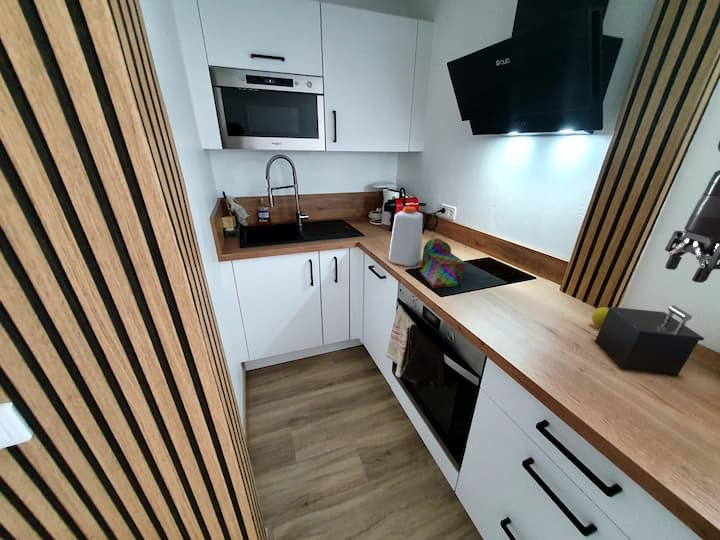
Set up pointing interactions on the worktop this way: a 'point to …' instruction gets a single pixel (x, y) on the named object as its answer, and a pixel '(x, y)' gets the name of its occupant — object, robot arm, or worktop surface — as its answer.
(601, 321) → the lemon
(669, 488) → the worktop surface
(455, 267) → the rainbow lumpy figurine
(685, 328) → the bin lid
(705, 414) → the worktop surface
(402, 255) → the plastic bottle
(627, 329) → the bin
